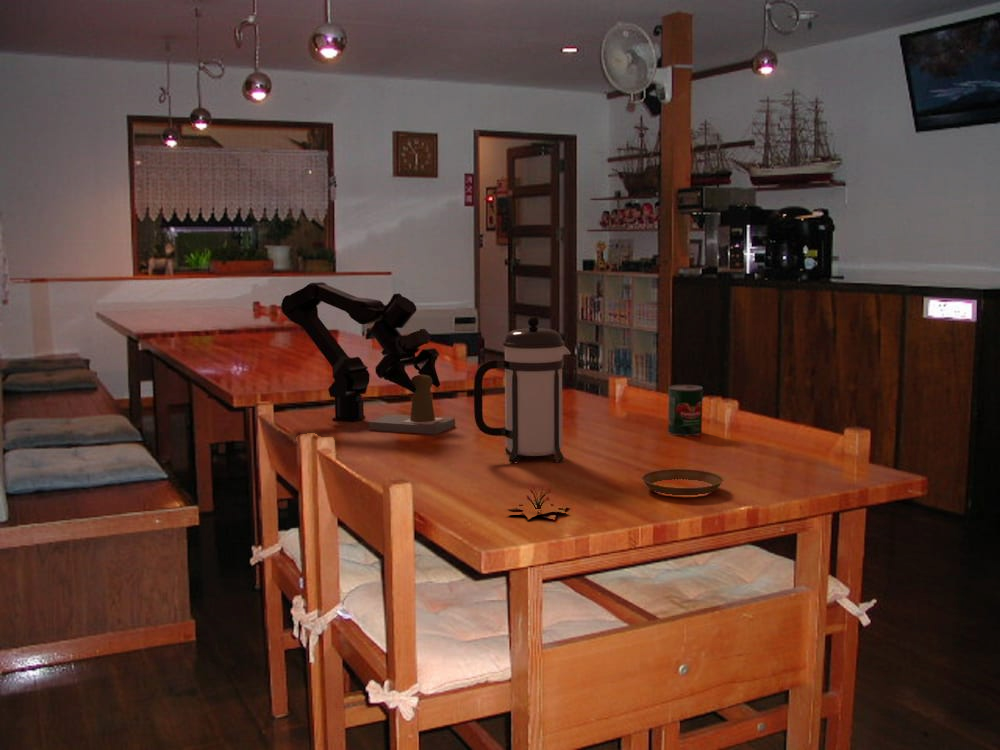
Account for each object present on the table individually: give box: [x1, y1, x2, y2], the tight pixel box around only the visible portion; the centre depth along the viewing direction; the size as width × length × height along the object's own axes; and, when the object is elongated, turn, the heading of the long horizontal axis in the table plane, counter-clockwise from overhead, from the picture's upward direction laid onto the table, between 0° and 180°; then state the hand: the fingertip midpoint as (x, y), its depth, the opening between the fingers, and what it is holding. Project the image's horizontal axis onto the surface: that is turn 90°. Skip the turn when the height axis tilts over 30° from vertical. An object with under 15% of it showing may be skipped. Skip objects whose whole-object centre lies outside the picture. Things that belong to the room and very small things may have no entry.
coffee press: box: [473, 316, 571, 464], centre depth 212 cm, size 17×16×30 cm
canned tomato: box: [667, 384, 704, 437], centre depth 238 cm, size 8×8×11 cm
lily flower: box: [514, 486, 566, 514], centre depth 172 cm, size 12×12×5 cm
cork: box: [410, 374, 436, 422], centre depth 245 cm, size 6×6×11 cm
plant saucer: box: [641, 468, 724, 495], centre depth 186 cm, size 15×15×3 cm
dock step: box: [368, 413, 456, 436], centre depth 247 cm, size 18×11×2 cm, turn 68°
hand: (427, 388), depth 244 cm, fingers open, 9 cm apart
